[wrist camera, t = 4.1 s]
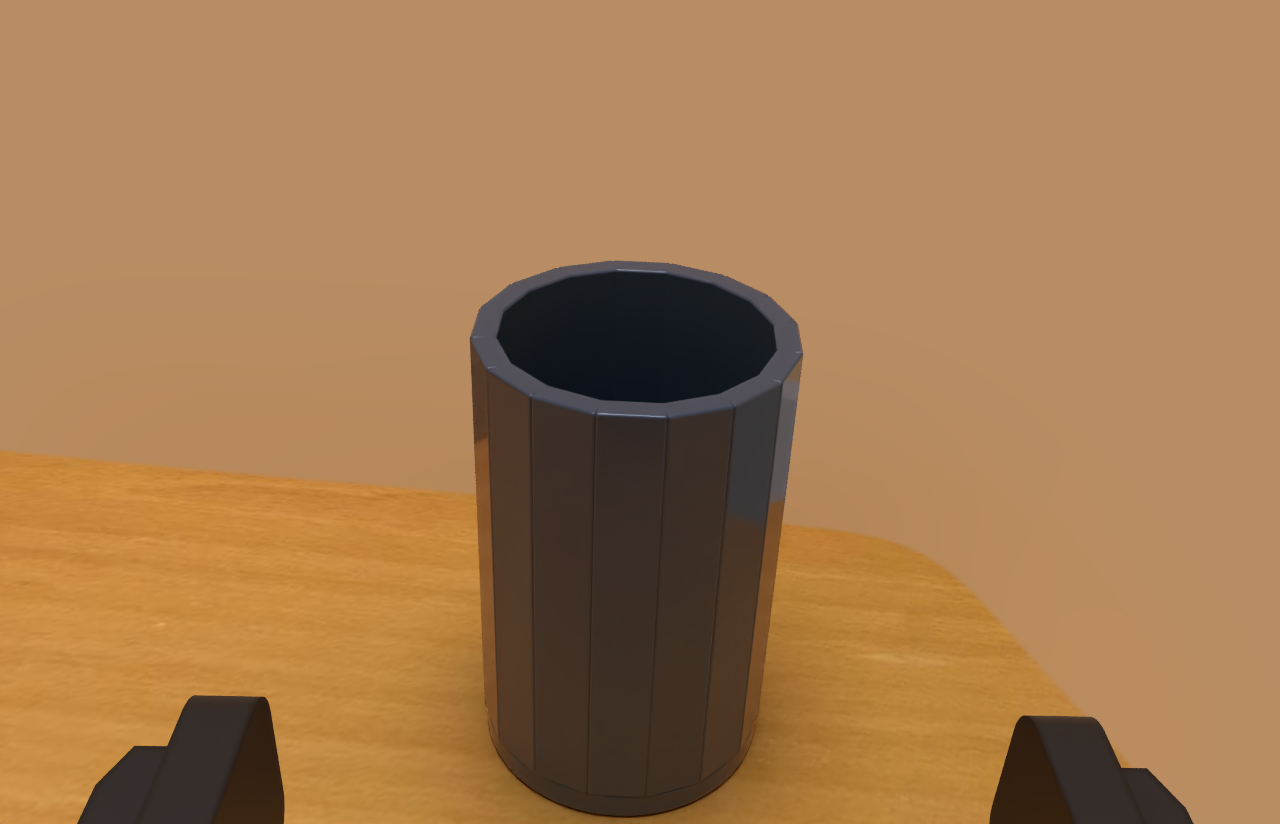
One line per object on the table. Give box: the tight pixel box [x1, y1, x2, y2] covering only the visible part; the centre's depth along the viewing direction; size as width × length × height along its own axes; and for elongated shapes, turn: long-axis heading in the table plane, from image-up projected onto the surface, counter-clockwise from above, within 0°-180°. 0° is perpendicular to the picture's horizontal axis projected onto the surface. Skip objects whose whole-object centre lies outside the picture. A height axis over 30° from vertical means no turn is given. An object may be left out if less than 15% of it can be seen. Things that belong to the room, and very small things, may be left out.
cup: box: [470, 261, 803, 816], centre depth 25 cm, size 6×6×10 cm
